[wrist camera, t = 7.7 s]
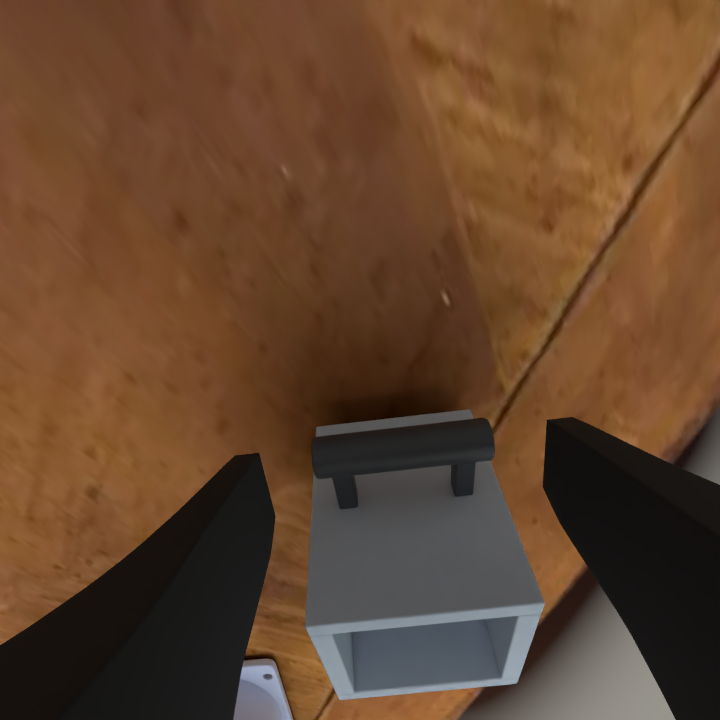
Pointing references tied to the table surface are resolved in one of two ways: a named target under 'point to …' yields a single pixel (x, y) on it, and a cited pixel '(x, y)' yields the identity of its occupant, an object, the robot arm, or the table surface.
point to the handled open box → (415, 559)
